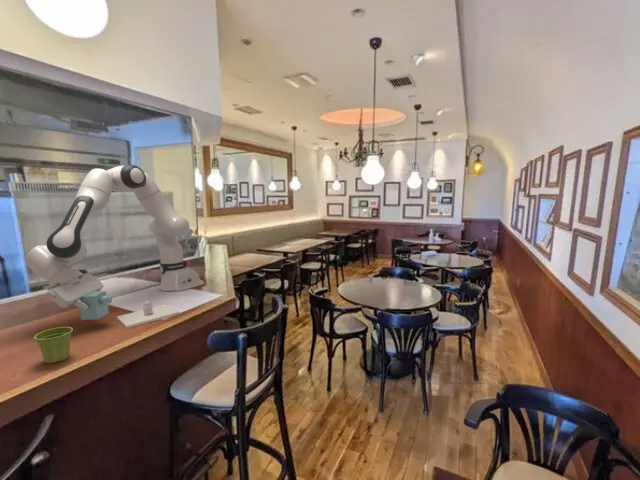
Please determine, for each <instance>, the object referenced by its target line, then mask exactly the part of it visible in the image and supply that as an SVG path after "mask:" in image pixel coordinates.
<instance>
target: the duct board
mask: <svg viewBox="0 0 640 480" xmlns="http://www.w3.org/2000/svg"><path fill="white" fill-rule="evenodd" d="M142 305H143V307H142V308H143V309H142V310H138V311H134V312H129V313H125V314H121V315H117V316H116V320H117V321H119V322H120V323H121V324H122V325H123V326H124V328H126V329H129V328H132V327H133V328H134V327H137V326H141V325H144V324H148V323H151V322H156V321H158V320H163V319H166V318H170V317H174V316H177V315H181V314H180V311H179V310H178V309H176V308H174V307H173V306H171V305H169V304H167V303H166V304H162V305H158V306H155V307H153V304H152V302H151V301H150V300H146V301H144V302H143V304H142Z"/></svg>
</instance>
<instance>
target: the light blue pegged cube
mask: <svg viewBox="0 0 640 480" xmlns="http://www.w3.org/2000/svg"><path fill="white" fill-rule="evenodd" d="M79 299H80V300H81V302H83V303H85V304H86V303H88V304H89V305H90V308H89V309H87V310H84V309H83V308H80V307H78V308H79V315H80V320H84V321H85V320H87V321H88V320H99V319H101V318H103V317H104V316H106V315H108V314H109V313H110V311H109V305H110V304H111V303H112V301H113V297H112V296H111V295H107V291H106V290H100V291H93V292H91V293H89V294H87V295H84V296H82V297H81V298H79Z"/></svg>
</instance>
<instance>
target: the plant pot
mask: <svg viewBox="0 0 640 480" xmlns="http://www.w3.org/2000/svg"><path fill="white" fill-rule="evenodd" d="M73 330H74V329H73V327H71V326H59V327H52V328H49V329H46V330H43V331H41V332H38V333H36V334H35V335H34V337H33V338H34V340H35V341H36V343H37V344H38V346H39V348H40V352H41V355H42V357H43V361H44V362H45V363H46V364H56V363H58V362H62V361H65V360H66V359H69V358H70V355H71V336H72V333H73Z"/></svg>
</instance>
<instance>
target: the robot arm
mask: <svg viewBox="0 0 640 480" xmlns="http://www.w3.org/2000/svg"><path fill="white" fill-rule="evenodd" d="M77 190H78V191H77V192H76V195H75V199H74V200H73V203H72V204H71V206H70V207H69V210H68V212H67V213H66V215H65V217H64V219H63V221H62V222H61V224H60V225H59V227H58V228H57V229H56V230H54V231H53V232H52V233H51V234H49V236H48V237H47V240H46V244H45V245H44V244H43V245H41V244H40V245H36V246H34V247H32V248H31V249H30V250H29V251H27V253H26V255H25V258H24V262H25V264H26V265H27V266H28V267H29V269H30V270H31V271H32V272H33V273H34V274H35V275H37V276H39V278H42V279H44V280H45V281H46V283H47V284H48V285H49V286H48V287H47V288H46V294H48V295H49V297H50V298H51V300H52V301H53V302H54V303H55V304H56V305H57V306H58V307H59V308H63V309H66V308H69V306H72V305H74V307H78V308H79V307H80V308H83V309H84V310H87V309H89V308H90V305H89V304H88V303H86V304H85V303H83V302H81V300H80V299H79V298H81V297H82V296H84V295H87V294H89V293H91V292H93V291H102V289H103V288H104V283H102V282H101V281H100V279H98V278H97V277H96V276H95V275H93V274H91V273H90V271H89V270H88V269H85V268H83V269H81V268H80V269H77V268H72V267H73V266H75V265H76V264H78V263H80V262H81V261H83V260H84V259H85V257H86V256H87V252H88V251H87V248H86V246H85V244H84V243H83V241H82V239H81V232H82V231H83V228H84V226H85V225H86V224H85V223H87V220H88V218H89V216H90V215H91V214H98V213H101V212H103V210H104V209H105V208H106V206H107V205H108V202H109V200H110V198H111V195H112V193H117V192H119V193H120V192H127V191H130V190H131V192H133V193H134V195H135V197H136V199H137V200H138V201H139V203H140V204H141V206H142V207H143V210H144V211H145V212H146V213H147V214H148V215H150V216H151V218H150V220H149V221H148V228H149V231H150V232H151V233H152V234H153V237H154V239H155V241H156V244H157V246H158V250H159V258H160V263H159V271H160V274H161V278H160V279H161V280H160V286H159V290H160V291H162V292H172V291H173V292H181V291H186V290H188V289H192V288H193V289H194V288H195V287H199V286H203V285H205V281H204V280H202V279H200V276H199V273H198V272H197V271H195V270H194V269H192V268H190V267H188V266H190V265H191V262H190V261H188V260H187V261H186V260H184V255H183V247H182V246H183V245H181V243H179V241H178V238H177V237H182V236H185V235H186V234H187V233H188V232H189V230H190V222H189V220H187V219H186V218H185V217H183V216H182V215H181V214H180V213H178V212H177V210H176V209H174V207H173V206H172V205H171V204H170V203H169V202H168V200H167V199H166V197H165V195H164V193H162V191H161V188H159V186H158V184H157V183H156V182H155V180H154V179H153V178H152V177H151V176H150V175H149V174H148V173H147V172H146V171H143V170H142V168H140V167H139V166H138V165H135V164H125V165H119V166H115V167H112V168H108V169H103V168H92V169H90V171H89V172H88V173H87V174H86V176H85V177H84V179H83V180H82V182H81V184H80V186H79V188H78V189H77Z"/></svg>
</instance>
